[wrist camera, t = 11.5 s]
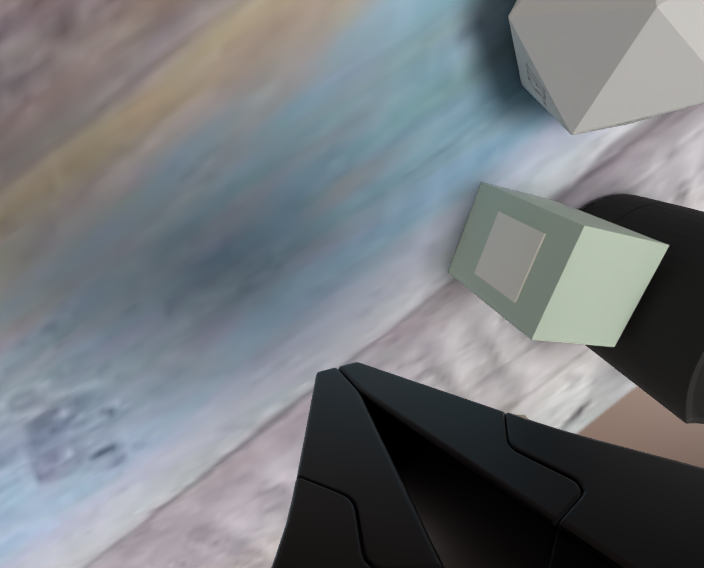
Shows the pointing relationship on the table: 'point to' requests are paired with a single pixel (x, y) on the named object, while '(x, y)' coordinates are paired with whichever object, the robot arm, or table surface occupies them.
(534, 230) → the sage block
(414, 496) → the robot arm
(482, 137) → the table surface
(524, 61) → the die
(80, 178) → the table surface
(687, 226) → the pen holder
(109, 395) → the table surface
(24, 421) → the table surface
